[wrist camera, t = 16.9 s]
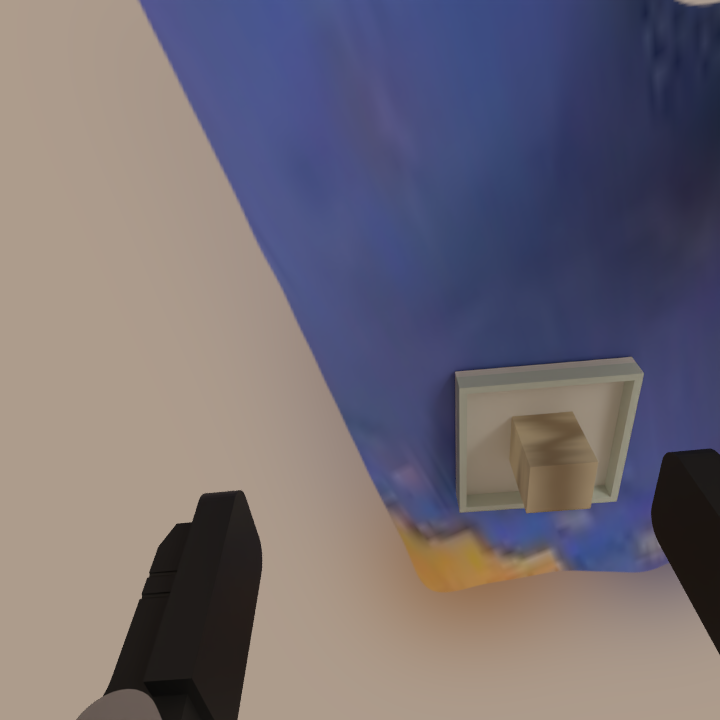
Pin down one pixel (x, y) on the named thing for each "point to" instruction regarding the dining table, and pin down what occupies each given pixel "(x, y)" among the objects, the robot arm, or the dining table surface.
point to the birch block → (552, 462)
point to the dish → (540, 396)
